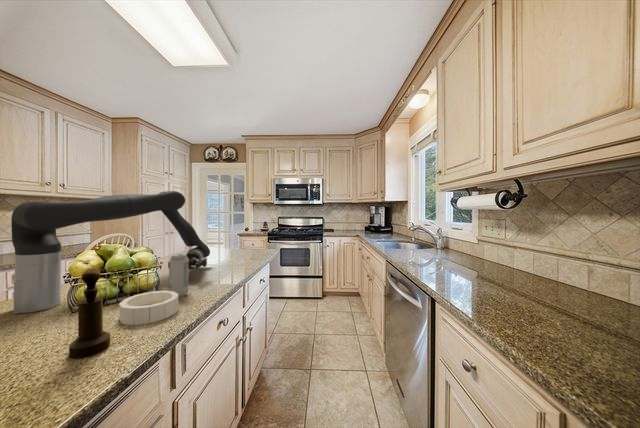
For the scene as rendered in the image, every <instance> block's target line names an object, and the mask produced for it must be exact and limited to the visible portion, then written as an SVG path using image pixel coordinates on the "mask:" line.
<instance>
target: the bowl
mask: <svg viewBox="0 0 640 428" xmlns="http://www.w3.org/2000/svg"><path fill="white" fill-rule="evenodd" d="M178 297H179V294H177V293H176V292H174V291H169V290H156V291H149V292H143V293H138V294H135V295H132V296H130V297H127V298H124V299H123V300H122V301H120V302H119V304H118V310H119V311H118V321H119V322H120V323H121V325H129V326H139V325H146V324H147V325H148V324H152V323H156V322H160V321H162V320H165V319H167V318H169V317H171V316H174V315H175V314H176V313H177V312H178V310H179V298H178Z"/></svg>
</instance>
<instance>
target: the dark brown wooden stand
mask: <svg viewBox="0 0 640 428" xmlns="http://www.w3.org/2000/svg"><path fill="white" fill-rule="evenodd" d="M101 274H102V273H101V271H100V270H99V269H96V268H89V269H86V270H85V271H84V272H82V275H81V280H82V281H83V283H84V284H85V285H86V288H85V289H84V290H83V294H84V297H85V298H84V299H81V300H80V301H78V303H77V307H78V308H77V310H78V311H77V313H78V317H77V318H78V319H77V320H78V321H77V323H78V324H77V325H78V329H77V330H78V331H77V333H78V335H77V337H76V338H75V339H74V340H73V341H72V342H70V344H69V346H68V348H69V349H68V352H69V353H68V357H69V358H70V359H73V360H77V359H84V358H87V357H91V356H95V355H97V354H99V353H102V352H104V350H106V349H108V348H109V346H110V345H111V334H110V333H109V332H108V331H105V330H104V326H103V323H104V322H103V321H104V319H103V312H104V311H103V310H104V309H103V308H104V307H103V304H104V303H103V302H104V297H97V295H98V291H99V288H98V287H97V285H96V284H97V283H98V282H99V280H100V278H101Z"/></svg>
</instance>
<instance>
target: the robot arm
mask: <svg viewBox="0 0 640 428" xmlns="http://www.w3.org/2000/svg"><path fill="white" fill-rule="evenodd" d="M185 203H186V197H185V196H184V194H183V193H181V192H180V191H177V190H166V191H161V192H159V193H155V194H139V193H138V194H137V193H135V194H116V195H115V194H114V195H105V196H100V197H95V198H92V199H87V200H81V201H45V200H44V201H42V200H41V201H38V200H37V201H35V200H34V201H27V202H23V203H21V204H19V205H17V206H16V207H15V208H14V210H13V211H12V215H11V222H10V223H11V242H12V246H13V248H14V281H13V311H12V312H13V315H17V314H18V315H19V314H26V313H27V314H28V313H34V312H39V311H44V310H48V309H52V308H54V307H57V306H59V305H60V304H61V296H62V295H61V291H62V289H61V285H62V282H61V281H62V279H61V277H62V276H61V275H62V273H61V272H62V242H60V240H59V239H58V236H57V230H58V229H61V228H65V227H69V226H75V225H78V224H83V223H92V222H104V221H112V220H120V219H126V218H131V217H136V216H141V215H142V216H143V215H145V214H149V213H153V212H159V211H160V212H161V213H162V214H164V216H165V217H166V218H167V219H168V221H169V222H170V223H171V225H172V226H173V227H174V228H175V230H176V232H177V233H178V234H179V236H180V238H181V240H182V241H183V243H184V245H185V246H186V247H189V248H190V247H194V248H191V249H189V250H188V251H187V253H186V254H187V257H188V259H189V267H188V270H193V269H200V268H202V267H206V266H207V265H208V259H207V258H208V257H209V256H210V254H211V250H210V248H209V247H208V245H207V244H206V243H205V242H203V241H202V240H201V238H200V237H199V235H198V233H197V231H196V230H195V228H194V227H193V225H192V224H190V223H189V222H188V221H187V220H186V219H185V218H184V217H183V216H182V215H181V213H180V211H179V210H180V209H181V208H183V207H184V205H185ZM167 267H168V269H169V261H167Z"/></svg>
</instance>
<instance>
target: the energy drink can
mask: <svg viewBox="0 0 640 428" xmlns="http://www.w3.org/2000/svg"><path fill="white" fill-rule="evenodd" d="M168 262H169V268H168V271H169V272H168V273H169V275H168V291H174V292H176V293H177V294H179V297H178V299H181V298H184V297H186V296H187V294H188V293H189V269H188V267H189V259H188V257H187V253H176V254H172V255H171V257H170V259H169V261H168Z"/></svg>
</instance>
